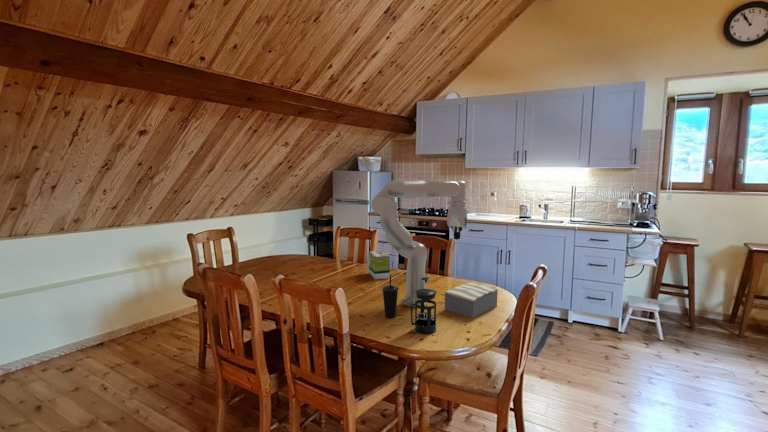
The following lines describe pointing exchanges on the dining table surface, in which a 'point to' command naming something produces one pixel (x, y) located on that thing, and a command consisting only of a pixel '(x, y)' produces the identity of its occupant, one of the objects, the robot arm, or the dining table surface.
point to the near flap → (465, 293)
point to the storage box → (470, 305)
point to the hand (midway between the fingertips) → (456, 239)
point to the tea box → (379, 264)
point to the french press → (425, 318)
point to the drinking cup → (390, 300)
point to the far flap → (479, 288)
